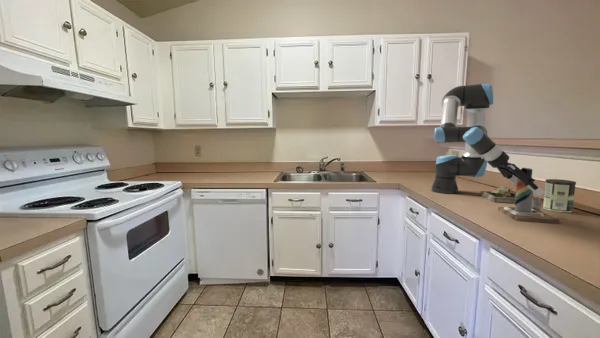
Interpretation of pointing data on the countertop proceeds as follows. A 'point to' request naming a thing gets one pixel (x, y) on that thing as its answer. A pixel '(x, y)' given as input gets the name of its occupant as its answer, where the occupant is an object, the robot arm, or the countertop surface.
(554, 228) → the countertop surface
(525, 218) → the template board
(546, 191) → the coffee can
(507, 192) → the fruit
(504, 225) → the countertop surface
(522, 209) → the lotion bottle
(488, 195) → the square wooden tray
